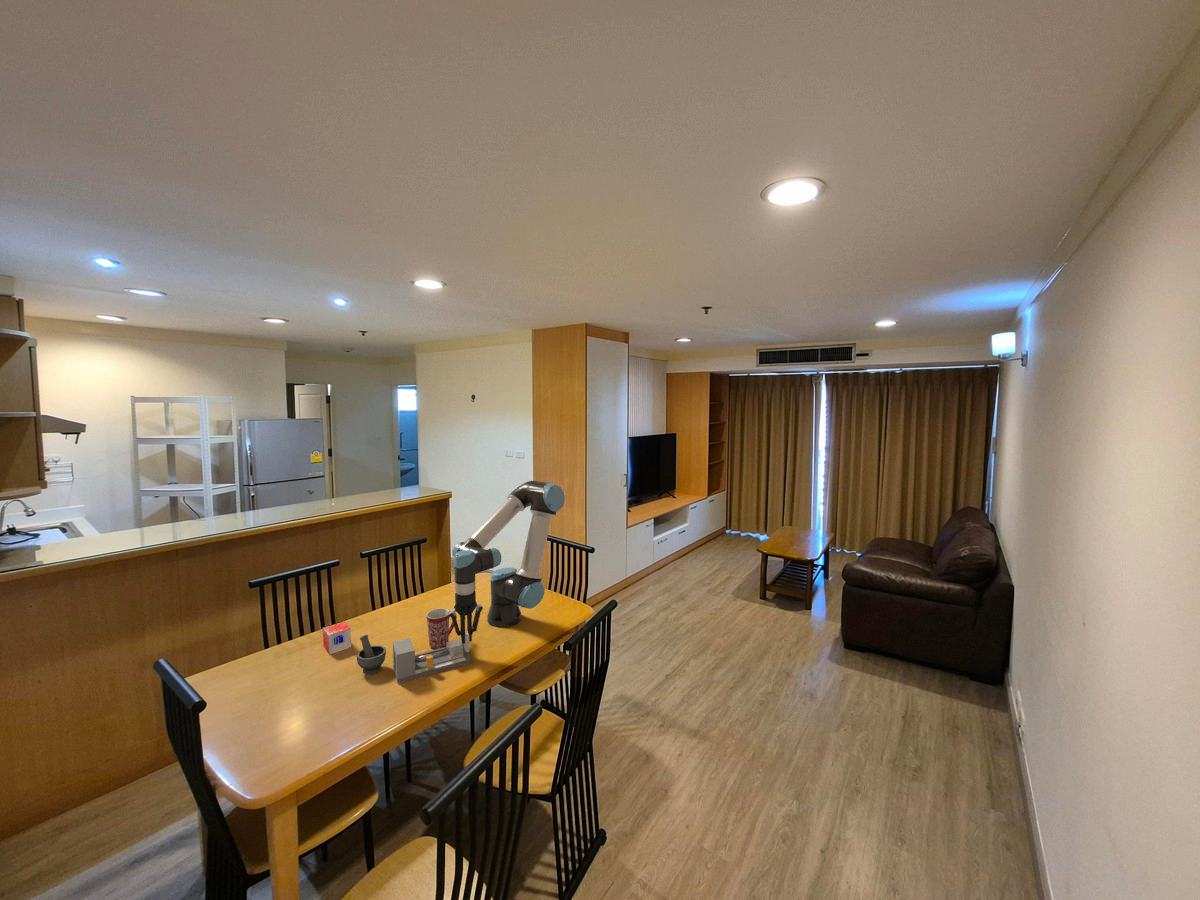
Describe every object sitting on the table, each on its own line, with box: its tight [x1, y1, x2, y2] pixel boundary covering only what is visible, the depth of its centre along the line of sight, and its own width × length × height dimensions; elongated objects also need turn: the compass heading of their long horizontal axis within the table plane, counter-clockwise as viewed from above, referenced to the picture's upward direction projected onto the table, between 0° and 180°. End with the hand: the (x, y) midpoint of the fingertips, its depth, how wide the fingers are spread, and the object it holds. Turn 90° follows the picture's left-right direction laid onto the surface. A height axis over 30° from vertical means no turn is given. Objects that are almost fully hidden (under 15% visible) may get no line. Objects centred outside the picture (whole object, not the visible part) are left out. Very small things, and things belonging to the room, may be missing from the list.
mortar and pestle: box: [356, 634, 387, 676], centre depth 172 cm, size 11×9×12 cm
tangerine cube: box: [426, 655, 433, 669], centre depth 171 cm, size 2×2×4 cm
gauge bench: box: [392, 637, 472, 684], centre depth 175 cm, size 26×10×10 cm, turn 121°
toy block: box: [322, 621, 352, 655], centre depth 188 cm, size 8×8×8 cm
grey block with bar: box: [415, 638, 463, 662], centre depth 175 cm, size 20×7×5 cm, turn 121°
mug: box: [425, 608, 457, 650], centre depth 191 cm, size 13×9×14 cm
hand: (466, 650), depth 182 cm, fingers closed
